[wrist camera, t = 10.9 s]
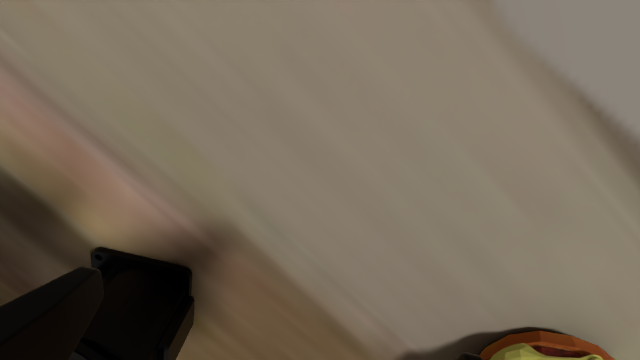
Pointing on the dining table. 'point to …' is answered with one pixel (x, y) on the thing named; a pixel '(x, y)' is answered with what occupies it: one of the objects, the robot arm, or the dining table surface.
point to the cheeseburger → (543, 348)
